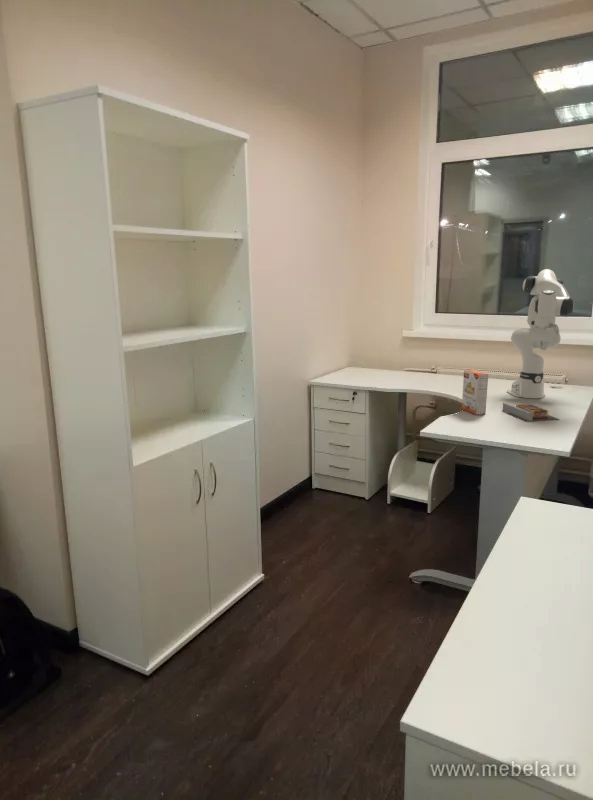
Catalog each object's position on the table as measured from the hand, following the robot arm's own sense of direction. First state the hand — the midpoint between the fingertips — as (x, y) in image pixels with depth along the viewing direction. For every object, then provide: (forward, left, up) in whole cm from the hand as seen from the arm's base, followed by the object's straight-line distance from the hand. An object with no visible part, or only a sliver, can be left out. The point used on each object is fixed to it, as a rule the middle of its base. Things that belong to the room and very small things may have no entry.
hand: (542, 349), depth 294 cm
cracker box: (+2, -38, -31) cm, 49 cm away
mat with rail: (+14, -14, -31) cm, 37 cm away
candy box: (+8, -14, -28) cm, 32 cm away
